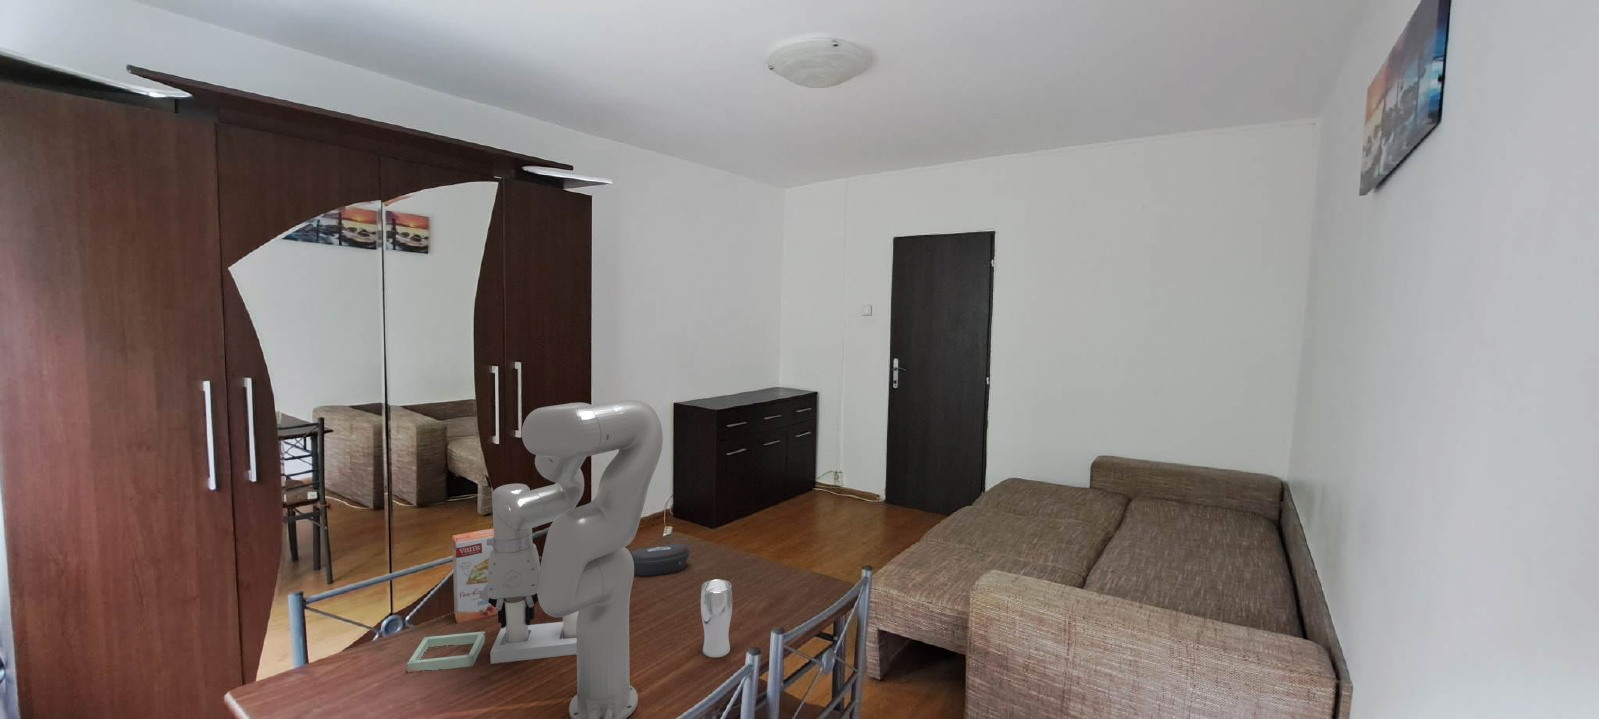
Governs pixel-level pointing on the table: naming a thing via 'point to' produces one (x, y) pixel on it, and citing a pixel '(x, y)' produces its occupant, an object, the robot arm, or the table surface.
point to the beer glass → (716, 617)
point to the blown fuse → (516, 619)
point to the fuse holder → (534, 644)
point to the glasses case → (660, 559)
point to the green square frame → (447, 662)
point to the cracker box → (471, 575)
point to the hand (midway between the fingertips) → (516, 622)
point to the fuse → (570, 625)
